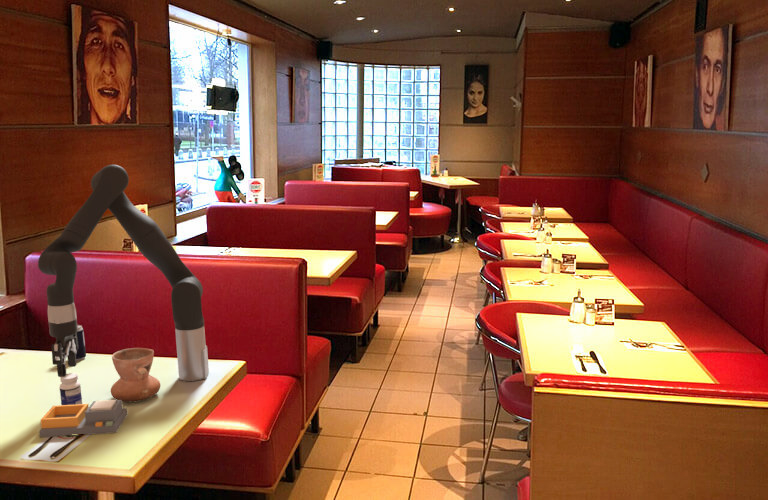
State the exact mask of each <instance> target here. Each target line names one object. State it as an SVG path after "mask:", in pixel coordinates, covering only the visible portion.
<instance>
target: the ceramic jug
mask: <svg viewBox="0 0 768 500" xmlns="http://www.w3.org/2000/svg"><path fill="white" fill-rule="evenodd" d="M154 355H155V351H154V349H150V348H145V347H144V348H143V347H132V348H129V347H128V348H125V349H121V350H118V351H116V352H114V353H113V354H112V355H111V359H112V364H113V366H114V369H115V371H116V373H117V375H118V376H119V377H120V378H119V379H118V380H116V381H115V382H114V383H113V384H112V386H111V387H110V395H111V396H112V398H113V399H114V400H122V403H135V402H143V401H145V400H148V399H150V398H153V397H154V396H155V395H156V394H158V393H159V391H160V389H161V382H160V381H159V379H158V378H157V377H154V376H153V375H152V374H151V375H150V372H151V369H152V364H153V362H154V357H155V356H154Z"/></svg>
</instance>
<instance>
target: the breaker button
mask: <svg viewBox="0 0 768 500" xmlns="http://www.w3.org/2000/svg"><path fill="white" fill-rule="evenodd" d="M95 401H96V402H95V403H94V405H93V406H92V407H91V408H90V409H91V411H99V410H112V409H113V408H114V406H115V405H116V399H107V400H104V399H103V400H95Z"/></svg>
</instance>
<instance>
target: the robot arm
mask: <svg viewBox="0 0 768 500" xmlns="http://www.w3.org/2000/svg"><path fill="white" fill-rule="evenodd" d="M129 180H130V179H129V174H128V172H127V170H126V169H125V168H123V167H122V166H120V165H117V164H108V165H105V166H104V167H102V168H101V169H100V170H99V171H97V172H96V173H95V174H94V175H93V176H92V177H91V179H90V186H91V189H92V192H91V193H90V195H89V197H88V198H87V200H86V201H85V202H84V203H83V204H82V205H81V206H80V207H79V209H78V210H76V213H75V214H74V215H73V216H72V218H71V219H70V220H69V221H68V223H67V224H66V226H65V228H64V229H63V231H62V232H61V234H60V235H59V236H58V237H57V238H55V239H54V240H53V241H52V242H51V243H50V244H48V246H47V247H46V248H44V250H43V251H42V252H41V254H40V256H39V257H38V261H37V267H38V269H39V271H40V272H41V273H42V274H45V275H50V276H55V282H53V283H50V284H49V285H48V286H46V299H47V318H48V319H47V320H48V322H47V323H48V328H49V329H48V330H49V335H50V337H53V338H55V340H56V341H55V343H53V344H51V346H50V347H51V356H52V357H51V359H52V365H54V366H55V365H56V370H57V376H58V378H60V377H65V376H66V375H67V374H68V373H67V366H66V361H67V365H68V367H71V368H72V367H76V366H77V361H76V353H77V351H76V350H78V348H79V347H78V339H77V332H78V328H77V325H78V319H77V318H78V317H77V308H76V305H75V297H74V296H75V294H74V286H75V281H76V280H75V279H76V276H77V269H78V264H77V260H76V258H75V256H74V254H73V253H74V252H75V253H76V252H79V251H81V250H82V249H83V247H84V246H85V245H86V243H87V241H88V240H89V238H90V237H91V235H92V233H93V232H94V230H95V228H96V227H97V225H98V224H99V222H100V220H101V219H102V217H103V216H104V214H105V213H106V212H107V210H109V211H110V213H111V214H112V215H113V216H114V217H115V218H116V221H117V222H118V223H119V224H120V226H121V227H122V229H123V230H124V231H125V232H126V234H127V235H128V237H129V238H130V239H131V241H132V242H133V244H134V245H135V247H136V248H137V249H138V251H139V252H140V253H141V254H142V255H143V256H144V258H145V259H146V260H147V261H149V262H150V263H151V264H152V265H153V266H154V267H156V268H157V269H158V270H159V271H160V272H161V273H162V274H163V275H164V277H165V279H166V280H167V282H168V283H169V284H170V286H171V289H172V290H171V294H170V295H171V296H170V297H171V298H170V299H171V301H170V302H171V310H172V319H173V321H174V329H175V342H176V343H175V344H176V354H177V355H176V356H177V366H178V367H177V368H178V369H177V370H178V379H179V380H180V381H184V382H195V381H200V380H206V379H207V378H208V376H209V372H210V371H209V370H210V369H209V357H208V354H209V353H208V345H206V334H205V333H206V332H205V318H204V315H203V307H202V306H203V305H202V296H203V293H204V288H203V285H202V282H201V281H200V280H199V279H198V278H197V276H196V275H195V274H193V272H192V271H191V270H190V269H189V267H187V265H186V264H185V263H184V262H183V260H182V259H181V258H180V256H179V254H178V253H177V251H176V250H175V248H174V247H173V245H172V244H171V242H170V241H169V239H168V237H167V236H166V235H165V233H164V232H163V230H162V229H161V227H160V226H159V225H158V224H157V222H156V221H154V219H152V217H150V216H149V215H147V214H146V213H144V212H143V211H141V210H140V209H139V208H137V207H136V206H135V205H134V204H133V203H132V202H131V200H130V199H129V198H128V196H127V195H126V193H125V190H126V189H127V187H128V186H129V182H130V181H129ZM66 359H67V360H66Z"/></svg>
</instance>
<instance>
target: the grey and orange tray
mask: <svg viewBox="0 0 768 500" xmlns="http://www.w3.org/2000/svg"><path fill="white" fill-rule="evenodd" d="M115 400H116V399H115ZM96 401H97V400H95V401H92V402H91V404H90V405H89V403H82V404H76V405H60V404H59V405H58V404H57V405H52V406H51V408H50V409H49V410H48V411H47V412H46V413H45V414H44V415H43V417H41V419H40V426H41V427H40V429H39V430H38V433H39V438H51V437H65V436H64V435H70V436H73V435H72V434H84V435H100V434H116V433H117V431H118V430H119V429H120V427H121V426H122V424H123V423H124V421H125V420H126V418H127V417H128V409H127V407H126V408H124V407H123V402H122V400H116V405H115V406H114V408H113V409H112V410H99V411H91V409H90V408H91V407H92V406H93V405H94V403H95V402H96Z"/></svg>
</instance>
